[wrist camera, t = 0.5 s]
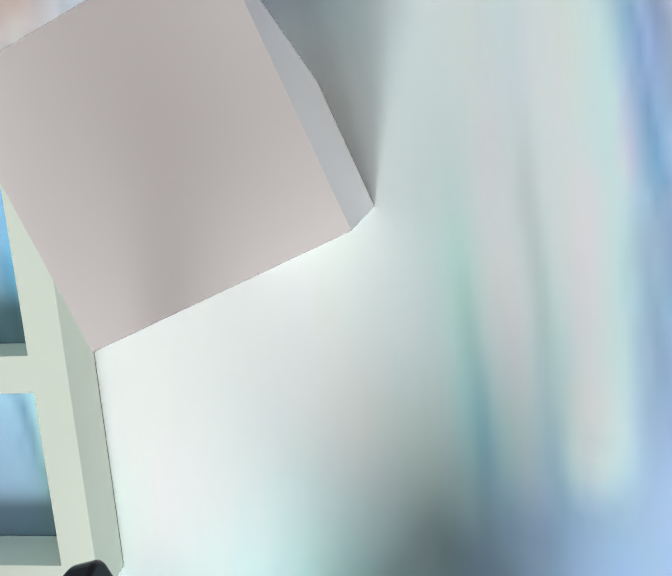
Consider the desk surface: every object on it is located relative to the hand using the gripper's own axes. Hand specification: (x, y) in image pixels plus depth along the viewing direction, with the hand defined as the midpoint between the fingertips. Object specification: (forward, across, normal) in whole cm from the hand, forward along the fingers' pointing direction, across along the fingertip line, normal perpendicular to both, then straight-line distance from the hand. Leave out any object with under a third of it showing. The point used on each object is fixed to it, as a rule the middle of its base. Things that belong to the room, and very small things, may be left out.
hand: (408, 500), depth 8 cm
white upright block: (+15, +1, -1) cm, 15 cm away
